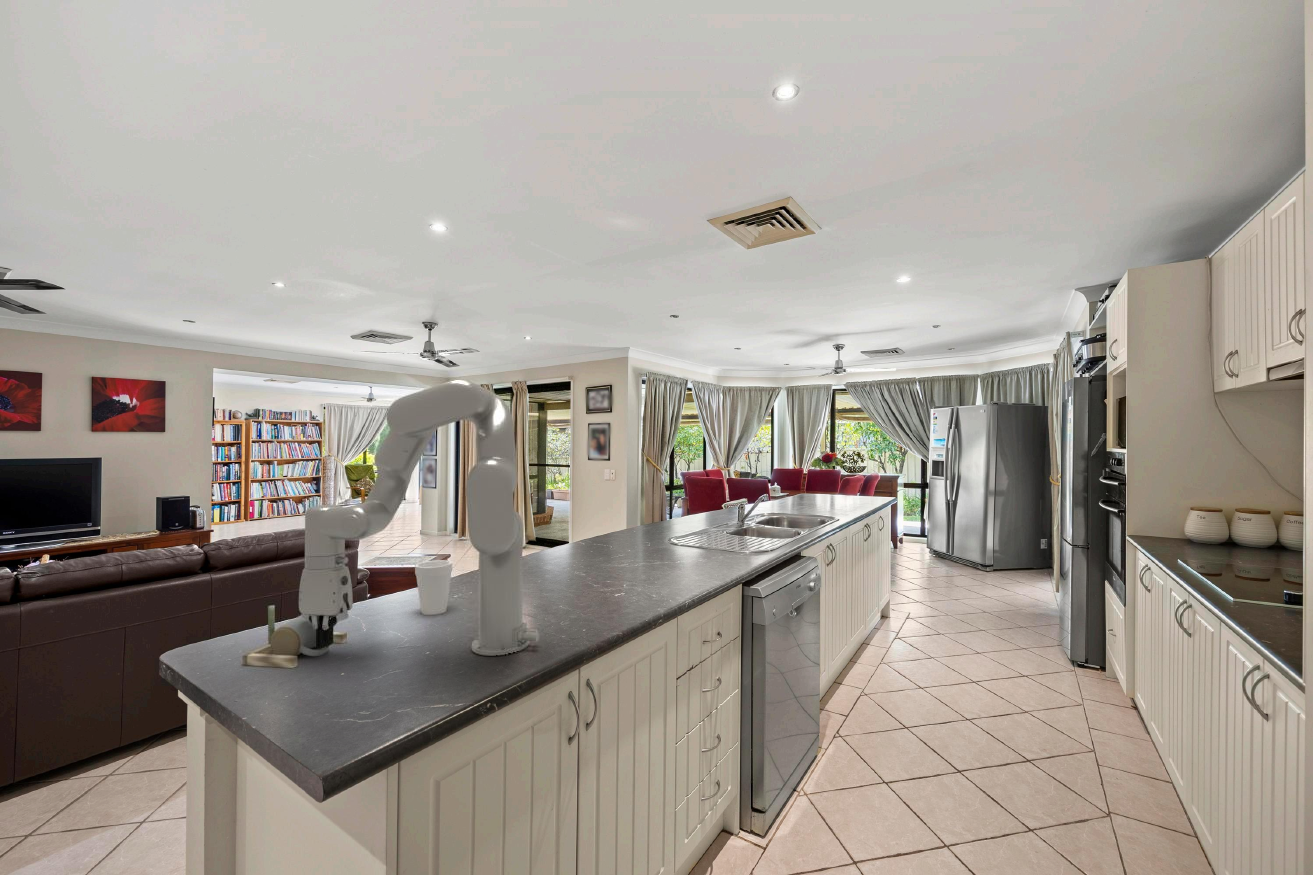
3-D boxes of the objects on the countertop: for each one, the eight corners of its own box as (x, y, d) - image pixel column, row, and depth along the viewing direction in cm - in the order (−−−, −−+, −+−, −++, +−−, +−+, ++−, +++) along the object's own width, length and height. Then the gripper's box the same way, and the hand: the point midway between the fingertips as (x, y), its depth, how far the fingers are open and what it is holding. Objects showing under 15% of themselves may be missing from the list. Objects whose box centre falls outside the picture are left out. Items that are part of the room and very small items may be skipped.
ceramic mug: (266, 659, 118) (267, 623, 118) (294, 645, 126) (295, 612, 126) (313, 661, 117) (313, 625, 117) (338, 647, 125) (339, 613, 125)
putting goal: (346, 641, 129) (346, 598, 129) (292, 668, 113) (292, 619, 114) (297, 638, 131) (296, 596, 131) (237, 664, 116) (237, 616, 116)
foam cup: (407, 615, 148) (407, 567, 148) (427, 605, 157) (427, 559, 157) (440, 617, 146) (440, 568, 146) (458, 607, 155) (458, 560, 155)
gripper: (367, 559, 123) (366, 641, 123) (308, 557, 126) (308, 638, 126) (342, 566, 116) (342, 654, 116) (281, 564, 119) (280, 650, 118)
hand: (324, 645), depth 121 cm, fingers closed
